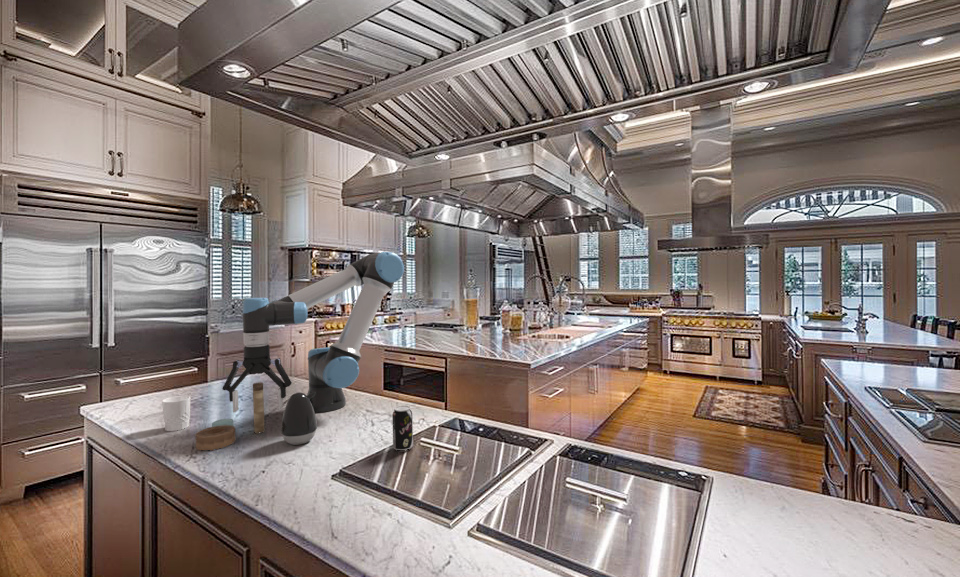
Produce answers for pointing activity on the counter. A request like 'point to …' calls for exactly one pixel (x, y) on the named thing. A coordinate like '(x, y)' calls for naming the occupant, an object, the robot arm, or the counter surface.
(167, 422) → the white cup
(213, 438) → the wooden peg base
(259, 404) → the tan wooden rod
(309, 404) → the black egg shaped speaker
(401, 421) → the beverage can
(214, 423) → the small bead
